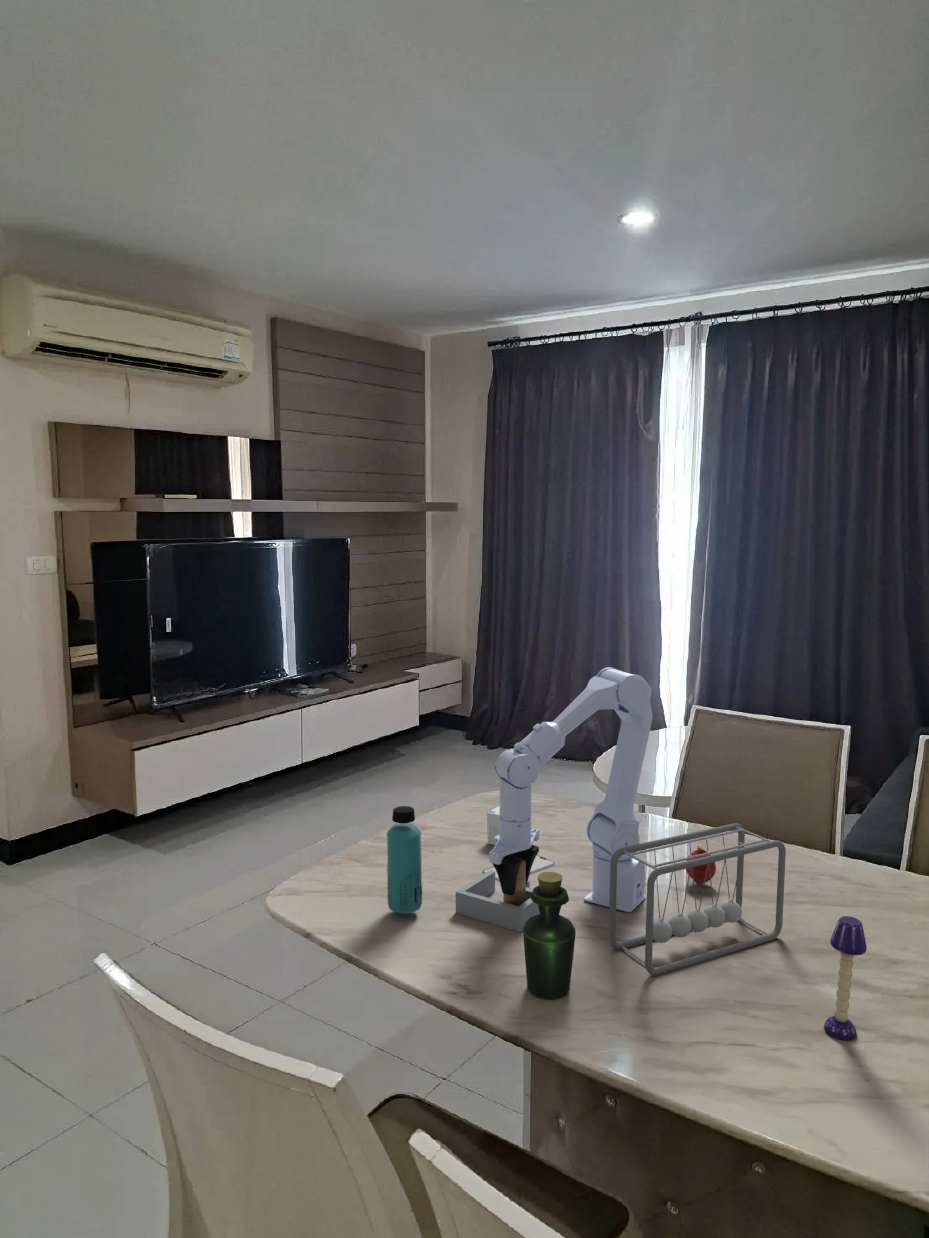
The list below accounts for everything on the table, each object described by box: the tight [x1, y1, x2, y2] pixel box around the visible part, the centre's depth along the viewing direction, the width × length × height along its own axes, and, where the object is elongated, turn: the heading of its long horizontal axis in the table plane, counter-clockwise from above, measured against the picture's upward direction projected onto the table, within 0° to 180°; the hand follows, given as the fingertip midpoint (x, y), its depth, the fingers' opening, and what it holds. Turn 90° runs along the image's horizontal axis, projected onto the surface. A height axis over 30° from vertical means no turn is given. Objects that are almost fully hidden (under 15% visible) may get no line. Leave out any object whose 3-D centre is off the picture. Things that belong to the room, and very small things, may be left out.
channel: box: [455, 870, 540, 933], centre depth 159 cm, size 14×12×4 cm
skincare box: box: [486, 805, 500, 846], centre depth 193 cm, size 6×6×7 cm
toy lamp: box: [823, 915, 867, 1041], centre depth 120 cm, size 5×5×17 cm
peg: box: [502, 858, 526, 906], centre depth 156 cm, size 4×4×9 cm
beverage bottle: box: [386, 805, 424, 914], centre depth 156 cm, size 6×7×20 cm
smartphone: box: [482, 854, 556, 882], centre depth 178 cm, size 7×1×15 cm
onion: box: [685, 845, 717, 886], centre depth 170 cm, size 6×6×8 cm
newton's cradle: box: [608, 822, 787, 977], centre depth 146 cm, size 30×10×18 cm, turn 118°
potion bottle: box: [522, 871, 576, 1000], centre depth 131 cm, size 8×8×18 cm
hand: (514, 889), depth 156 cm, fingers closed on peg, 4 cm apart
